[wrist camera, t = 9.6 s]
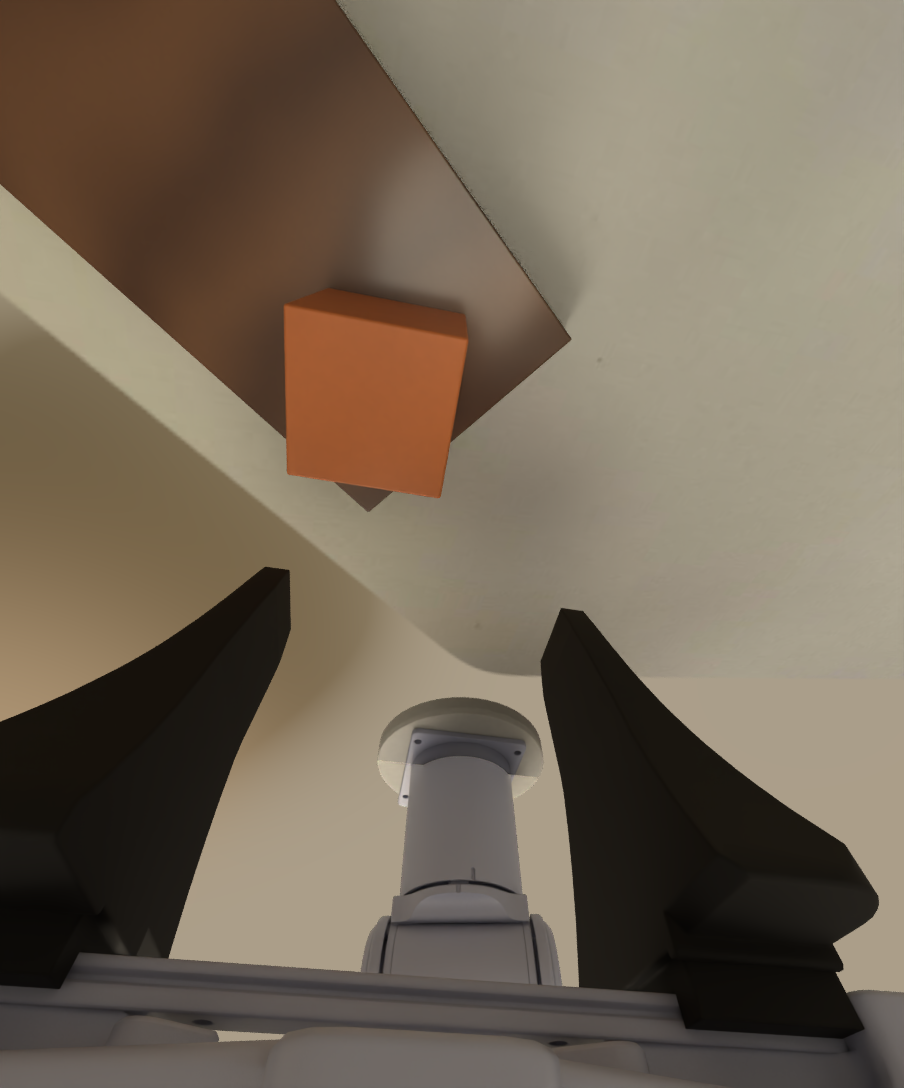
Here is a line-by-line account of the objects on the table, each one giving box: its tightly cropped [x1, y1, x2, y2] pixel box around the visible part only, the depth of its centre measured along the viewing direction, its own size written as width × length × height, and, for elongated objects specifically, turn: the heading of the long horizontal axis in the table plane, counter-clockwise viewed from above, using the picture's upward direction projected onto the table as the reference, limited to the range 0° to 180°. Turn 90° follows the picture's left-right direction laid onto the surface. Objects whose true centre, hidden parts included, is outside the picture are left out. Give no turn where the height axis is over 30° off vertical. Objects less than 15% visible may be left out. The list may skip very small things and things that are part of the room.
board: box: [0, 0, 571, 512], centre depth 14 cm, size 20×10×2 cm, turn 42°
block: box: [284, 288, 469, 498], centre depth 14 cm, size 4×4×4 cm
